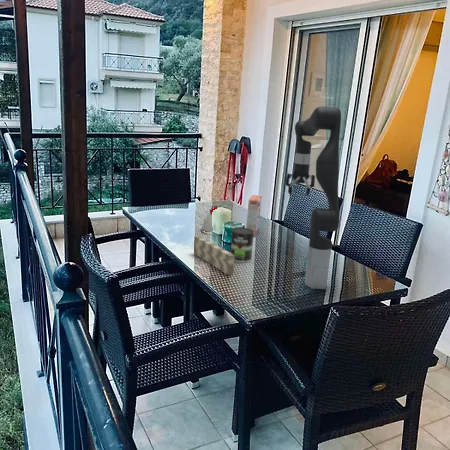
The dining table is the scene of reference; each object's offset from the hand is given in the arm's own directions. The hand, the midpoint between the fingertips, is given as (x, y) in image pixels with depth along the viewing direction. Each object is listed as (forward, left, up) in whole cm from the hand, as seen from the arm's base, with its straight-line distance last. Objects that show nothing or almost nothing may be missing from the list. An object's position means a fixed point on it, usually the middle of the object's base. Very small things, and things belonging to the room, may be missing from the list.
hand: (298, 194), depth 228 cm
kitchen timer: (+27, +40, -30) cm, 56 cm away
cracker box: (+27, +18, -29) cm, 44 cm away
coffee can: (-16, +29, -29) cm, 44 cm away
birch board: (-24, +43, -29) cm, 57 cm away
